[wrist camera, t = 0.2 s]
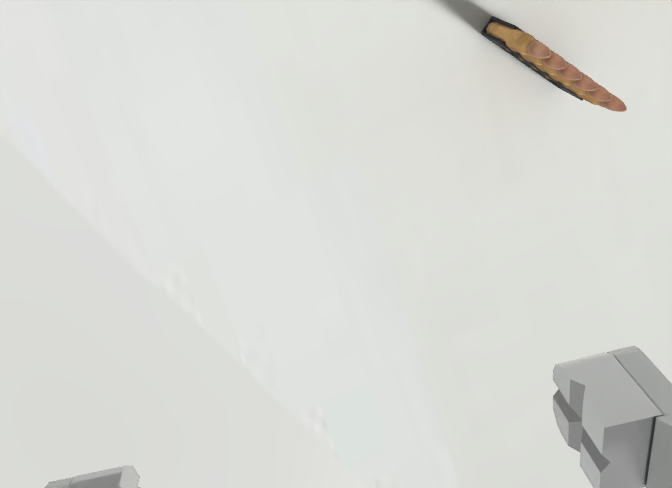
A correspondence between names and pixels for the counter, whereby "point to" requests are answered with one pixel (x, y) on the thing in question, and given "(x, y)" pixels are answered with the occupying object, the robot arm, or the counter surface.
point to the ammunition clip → (549, 64)
